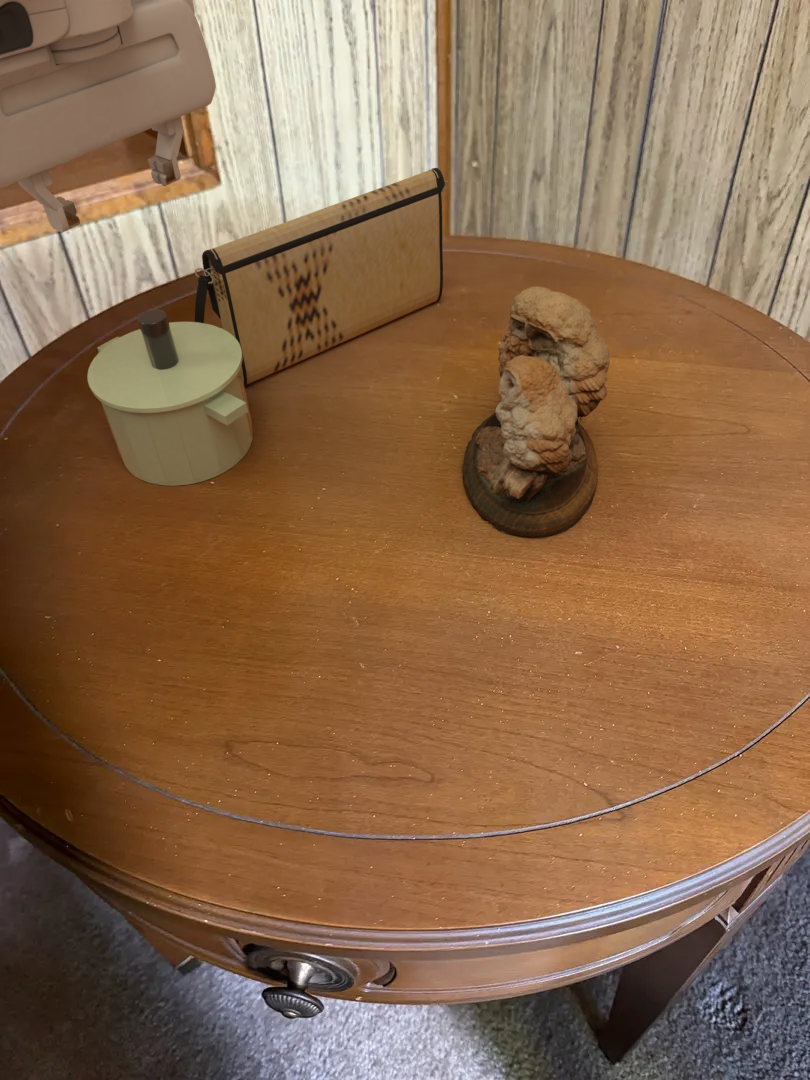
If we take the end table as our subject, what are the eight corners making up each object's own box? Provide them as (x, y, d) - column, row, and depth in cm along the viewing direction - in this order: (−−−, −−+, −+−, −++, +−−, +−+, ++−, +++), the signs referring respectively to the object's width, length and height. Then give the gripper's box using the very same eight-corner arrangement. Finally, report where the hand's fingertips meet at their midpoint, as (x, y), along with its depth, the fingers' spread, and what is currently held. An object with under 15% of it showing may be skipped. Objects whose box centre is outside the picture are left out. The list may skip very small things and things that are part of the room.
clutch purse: (418, 278, 101) (414, 148, 90) (456, 301, 97) (456, 167, 86) (195, 372, 89) (159, 236, 78) (227, 403, 85) (194, 263, 74)
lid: (156, 439, 68) (137, 381, 64) (60, 382, 75) (37, 326, 71) (275, 362, 75) (265, 306, 71) (178, 316, 82) (163, 262, 78)
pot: (199, 517, 73) (176, 440, 67) (78, 440, 82) (47, 365, 76) (300, 444, 80) (287, 367, 74) (178, 380, 88) (157, 306, 82)
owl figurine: (464, 407, 83) (465, 240, 70) (587, 408, 82) (610, 238, 69) (460, 539, 70) (461, 363, 58) (606, 541, 69) (637, 363, 57)
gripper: (154, -48, 61) (196, 149, 71) (-117, 24, 51) (-23, 244, 61) (211, -39, 58) (247, 165, 68) (-63, 40, 48) (26, 268, 58)
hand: (118, 203), depth 64 cm, fingers open, 8 cm apart
